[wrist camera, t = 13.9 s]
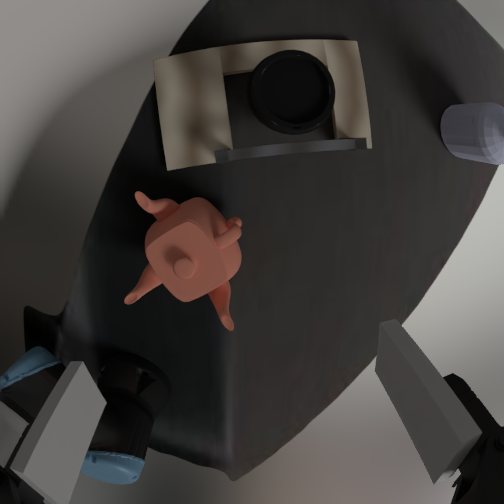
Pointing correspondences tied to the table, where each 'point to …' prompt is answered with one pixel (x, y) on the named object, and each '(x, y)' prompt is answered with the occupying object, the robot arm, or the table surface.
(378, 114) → the table surface
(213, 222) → the teapot
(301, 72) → the coffee cup
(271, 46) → the cream rectangular frame
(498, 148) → the spray bottle
